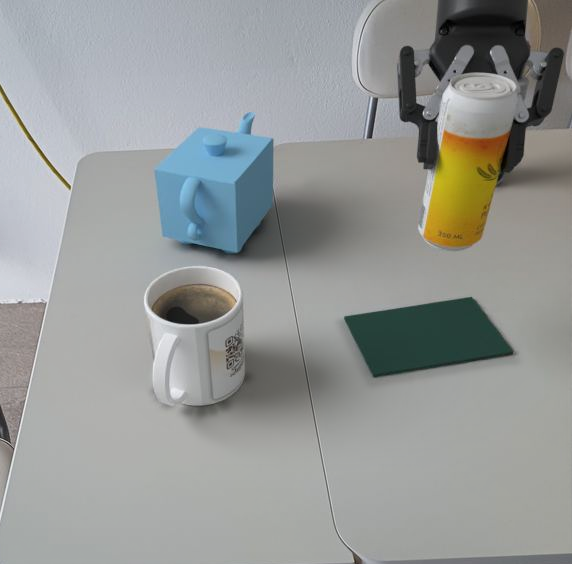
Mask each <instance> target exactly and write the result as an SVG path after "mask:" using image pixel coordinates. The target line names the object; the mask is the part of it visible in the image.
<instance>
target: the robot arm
mask: <svg viewBox="0 0 572 564" xmlns="http://www.w3.org/2000/svg"><path fill="white" fill-rule="evenodd" d="M528 5H529V0H437V9H436V20H435V21H436V22H435V33H434V34H435V35H434V41H433V43H432V44H431V46H430V48H425V49H417V50H416V49H415V50H414V48H413V47H412V46H410V45H404V46H403V47H402V48H401V49H400V50H399V55H398V59H397V63H396V73H397V91H398V93H397V94H398V111H399V113H398V115H399V119H400V121H401V122H403V123H411V124H414V125H416V127H417V128H418V137H417V148H416V149H417V150H416V159H417V162H418V163H421V164H423V167H422V168H423V170H428V171H429V170H432V168H433V166H434V163H435V155H436V143H437V125H438V121H437V120H438V117H439V111H440V106H441V101H442V95H443V93H444V91H445V90H446V89H447V87H448V86H449V84H450V81H451V79H453V78H454V77H456V76H458V75H462V74H467V73H491V74H496V75H500V76H504V77H506V78H508V79H510V80H512V81H513V82H514V83H515V84H516V86H517V88H516V93H517V97H518V104H517V108H516V112H515V115H514V119H513V123H512V127H511V130H510V134H509V138H508V142H507V145H506V149H505V153H504V156H503V160H502V164H501V173H504V174H510V173H511V172H512V171H513V170H514V169H515V168H516V167H517V166H518V165H519V164H520V163H521V161H522V160H523V158H524V156H525V143H526V133H527V132H526V129H527V128H529V127H538V126H540V125H541V124H543V122H544V120H545V119H546V118H547V117H548V116H549V115H550V114H551V112H552V110H553V106H554V101H555V97H556V92H557V87H558V83H559V79H560V75H561V70H562V65H563V61H564V57H565V52H564V50H563V49H562V48H560V47H553V48H552V49H551V50H550V51H541V50H534V49H531V50H530V47H529V45H528V43H527V41H528V40H527V37H526V32H527V31H526V30H527V18H528V8H529V7H528ZM526 40H527V41H526ZM427 64H428V66H429V68H430V69H431V71H432V73H433V74H434V75H435V77H436V78H437V80H438V82H439V83H438V84H437V87H436V88H435V91H434V92H433V94H432V95H431V97H430V99H429V101H428V102H427V104H426V106H425V105H423V104H420V103H417V85H416V84H417V82H416V78H418V77H419V76H420V75H421V73H422V71H423V68H424V66H426V65H427ZM524 65H526V67H528V68H529V70H530V76H531V78H532V79H533V80H536V81H535V88H534V92H533V96H532V101H531V104H530V107H527V106H526V103H525V100H524V101H523V99H522V96H521V88H520V86H519V83H518V81H517V79H516V77H515V75H516V74H517V73H518V72H519V71H520V70H521V68H522V67H523V66H524Z"/></svg>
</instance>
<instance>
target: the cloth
mask: <svg viewBox="0 0 572 564" xmlns="http://www.w3.org/2000/svg"><path fill="white" fill-rule="evenodd" d="M343 319H344V321H345V323H346V325H347V328H348V329H349V331H350V333H351V335H352V337H353V339H354V341H355V344H356V346H357V347H358V349H359V351H360V354H361V355H362V358H363V360H364V362H365V363H366V365H367V367H368V370H369V372H370V373H371V375H372V377H373V378H377V377H382V376H389V375H395V374H400V373H401V374H402V373H406V372H413V371H418V370H419V371H420V370H425V369H432V368H437V367H442V366H449V365H455V364H461V363H467V362H473V361H479V360H486V359H491V358H498V357H504V356H509V355H514V350H513V349H512V348H511V346H510V344H509V343H508V342H507V341H506V340H505V338H504V337H503V336H502V335H501V333H500V332H499V331H498V329H497V328H496V326H495V324H494V323H492V321H491V320H490V318H489V317H488V316H487V315H486V313H485V312H484V311H483V310H482V308H481V307H480V305H479V304H478V303H477V301H475V299H474V298H473V297H472V296H468V297H460V298H455V299H448V300H442V301H436V302H435V301H434V302H429V303H422V304H417V305H410V306H403V307H396V308H390V309H389V308H388V309H383V310H377V311H370V312H365V313H364V312H363V313H358V314H351V315H345V316H344V317H343Z"/></svg>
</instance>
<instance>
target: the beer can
mask: <svg viewBox="0 0 572 564" xmlns="http://www.w3.org/2000/svg"><path fill="white" fill-rule="evenodd" d="M516 88H517V86H516V84H515V83H514V82H513V81H512V80H510V79H508V78H506V77H504V76H500V75H496V74H491V73H467V74H462V75H458V76H456V77H454V78H453V79H451V81H450V84H449V86H448V87H447V89H446V90H445V91H444V93H443V95H442V101H441V106H440V111H439V115H438V117H437V122H438V125H437V143H436V155H435V163H434V166H433V168H432V170H429V169H428V172H427V177H426V182H425V187H424V192H423V198H422V204H421V209H420V216H419V220H418V225H417V230H418V232H419V234H420V235H421V236H422V239H423V240H424V242H425V243H426V244H428V245H429V246H431V247H432V248H434V249H437V250H441V251H444V252H461V251H466V250H468V249H470V248H471V247H473V246H474V244H477V243H478V242H480V240H481V239H482V237H483V235H484V231H485V227H486V224H487V219H488V216H489V212H490V209H491V204H492V201H493V197H494V194H495V189H496V186H497V185H496V183H497V179H498V175H499V171H500V168H501V164H502V160H503V156H504V153H505V149H506V145H507V142H508V138H509V134H510V130H511V127H512V123H513V119H514V115H515V112H516V108H517V104H518V97H517V93H516Z"/></svg>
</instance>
